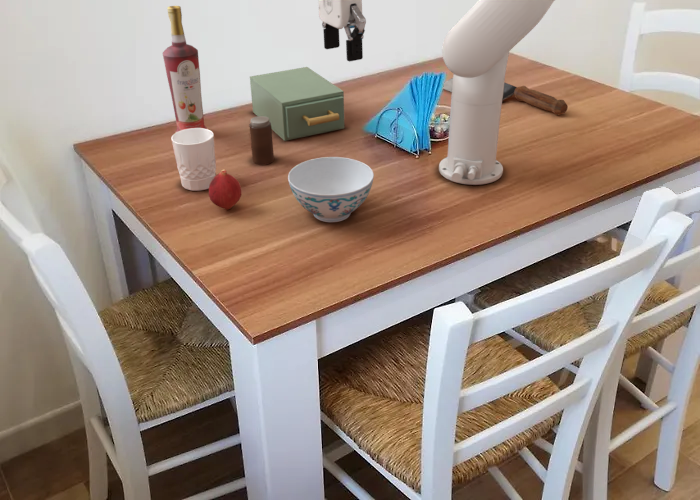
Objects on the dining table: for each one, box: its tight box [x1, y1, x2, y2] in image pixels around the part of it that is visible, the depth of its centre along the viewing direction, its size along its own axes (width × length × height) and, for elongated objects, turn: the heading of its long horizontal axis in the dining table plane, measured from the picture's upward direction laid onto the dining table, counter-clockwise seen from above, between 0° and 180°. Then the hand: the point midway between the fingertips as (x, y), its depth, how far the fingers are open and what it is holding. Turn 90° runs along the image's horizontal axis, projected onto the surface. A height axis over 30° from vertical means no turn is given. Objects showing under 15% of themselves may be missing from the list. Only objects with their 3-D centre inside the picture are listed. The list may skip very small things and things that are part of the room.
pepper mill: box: [248, 115, 275, 166], centre depth 146 cm, size 4×4×9 cm
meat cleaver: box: [442, 77, 568, 116], centre depth 175 cm, size 34×11×4 cm, turn 36°
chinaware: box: [287, 156, 375, 223], centre depth 126 cm, size 15×15×8 cm
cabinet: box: [249, 66, 345, 142], centre depth 164 cm, size 20×15×9 cm
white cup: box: [170, 128, 217, 192], centre depth 137 cm, size 8×8×10 cm
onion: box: [208, 169, 242, 211], centre depth 128 cm, size 6×6×8 cm
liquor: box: [162, 5, 208, 133], centre depth 152 cm, size 7×7×28 cm
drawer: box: [285, 96, 345, 138], centre depth 161 cm, size 23×14×7 cm, turn 27°
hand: (343, 53), depth 140 cm, fingers open, 9 cm apart
